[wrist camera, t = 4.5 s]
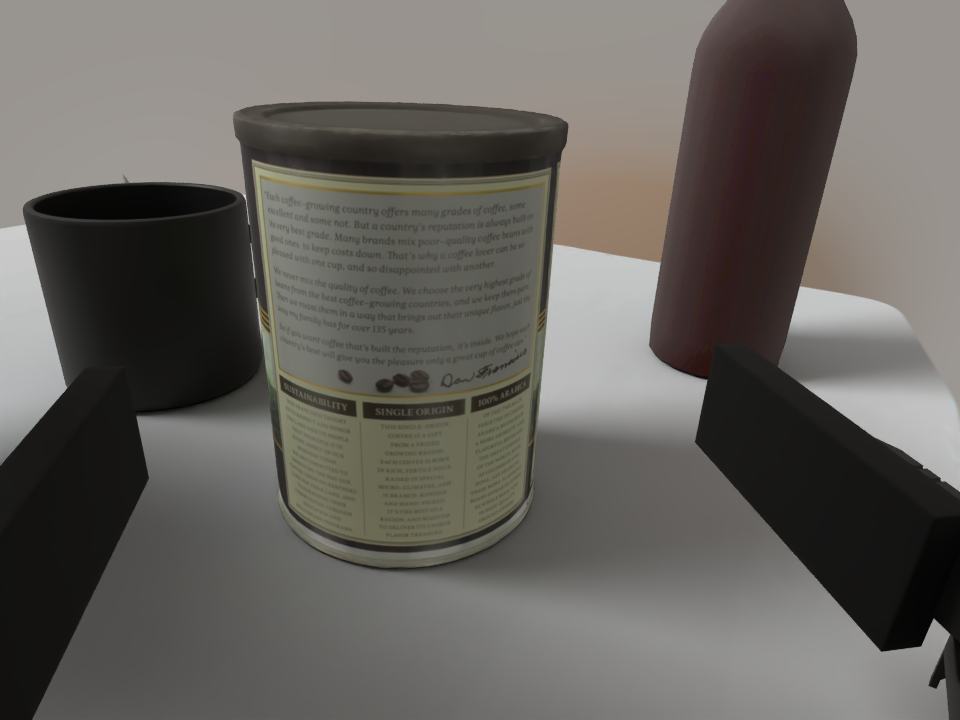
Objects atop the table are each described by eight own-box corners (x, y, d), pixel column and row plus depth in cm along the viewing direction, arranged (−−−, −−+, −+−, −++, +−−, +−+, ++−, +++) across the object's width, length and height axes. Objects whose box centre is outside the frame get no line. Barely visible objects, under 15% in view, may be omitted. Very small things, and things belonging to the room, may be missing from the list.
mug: (333, 351, 38) (324, 192, 34) (134, 436, 29) (91, 233, 25) (230, 313, 43) (212, 171, 39) (30, 376, 33) (-18, 198, 30)
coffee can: (237, 462, 27) (187, 100, 21) (441, 399, 33) (446, 100, 27) (352, 620, 20) (325, 134, 14) (589, 503, 26) (640, 124, 20)
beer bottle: (771, 342, 42) (923, -272, 29) (784, 393, 35) (987, -372, 23) (651, 325, 44) (745, -258, 31) (642, 370, 37) (756, -346, 25)
